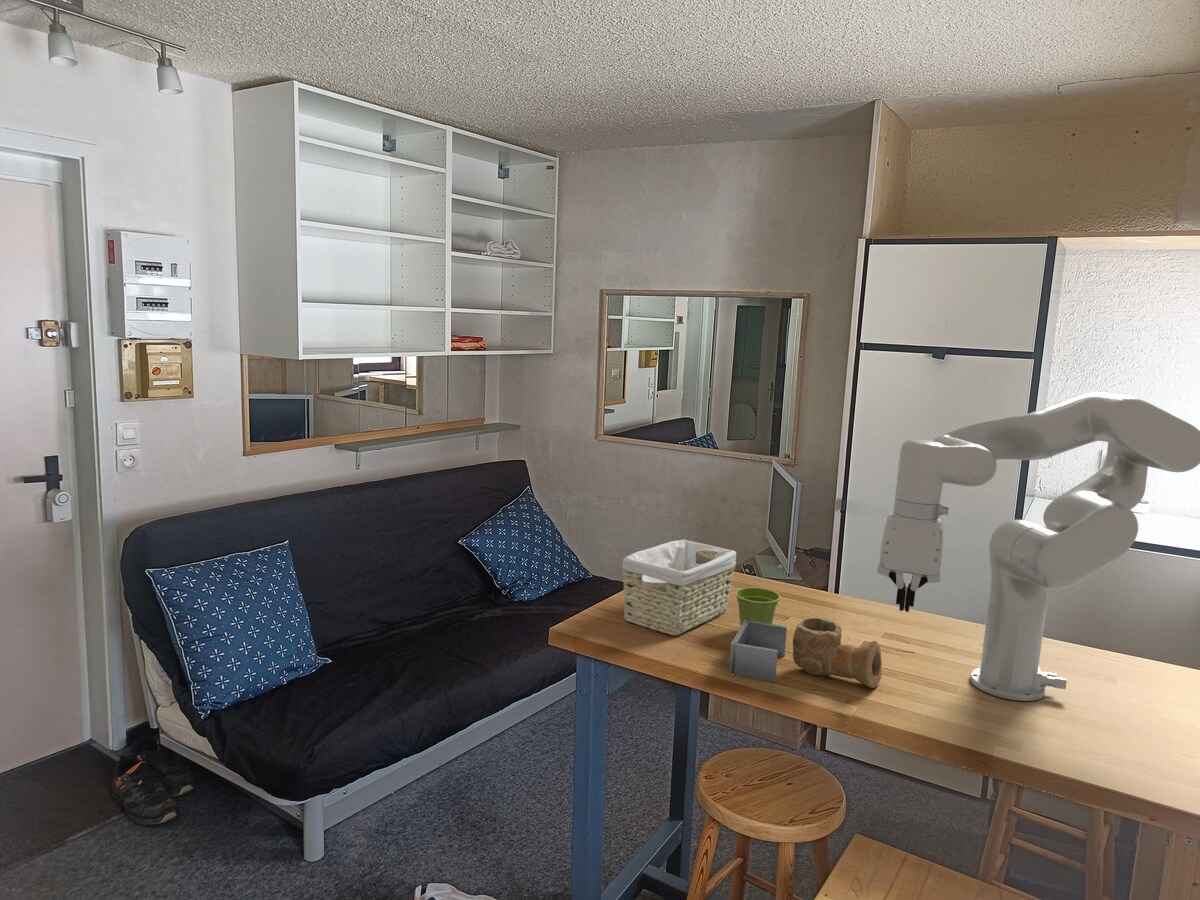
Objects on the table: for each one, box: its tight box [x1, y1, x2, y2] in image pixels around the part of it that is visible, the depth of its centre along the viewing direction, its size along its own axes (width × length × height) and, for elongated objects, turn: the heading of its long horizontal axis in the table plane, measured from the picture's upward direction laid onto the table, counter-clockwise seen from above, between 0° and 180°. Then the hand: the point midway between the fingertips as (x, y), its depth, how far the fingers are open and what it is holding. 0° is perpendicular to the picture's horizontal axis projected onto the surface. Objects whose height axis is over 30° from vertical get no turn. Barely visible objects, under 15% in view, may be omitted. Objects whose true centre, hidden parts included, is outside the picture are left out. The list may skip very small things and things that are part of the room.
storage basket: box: [621, 539, 737, 636], centre depth 183 cm, size 24×16×15 cm
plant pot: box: [734, 586, 781, 627], centre depth 176 cm, size 9×9×9 cm
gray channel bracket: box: [728, 620, 788, 684], centre depth 160 cm, size 8×14×6 cm, turn 160°
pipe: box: [792, 617, 883, 689], centre depth 155 cm, size 9×16×10 cm, turn 63°
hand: (904, 608), depth 149 cm, fingers closed
